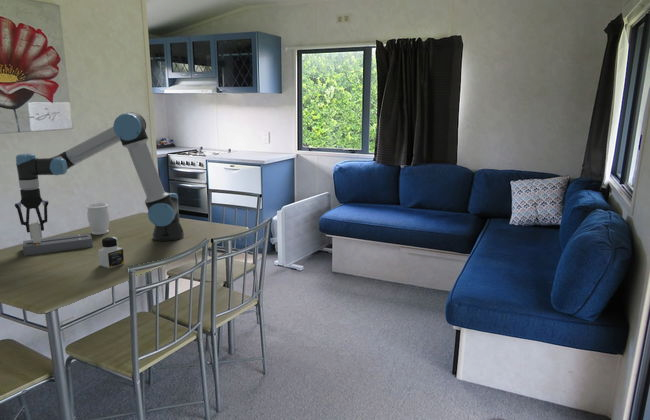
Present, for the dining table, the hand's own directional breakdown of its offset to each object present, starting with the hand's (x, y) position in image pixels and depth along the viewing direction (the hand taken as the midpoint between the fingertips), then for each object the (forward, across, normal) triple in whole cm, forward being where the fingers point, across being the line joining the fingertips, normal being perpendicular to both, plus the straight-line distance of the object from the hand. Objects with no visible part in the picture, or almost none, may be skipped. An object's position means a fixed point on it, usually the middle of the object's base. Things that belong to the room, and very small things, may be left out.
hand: (36, 238), depth 217 cm
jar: (+6, -28, -19) cm, 35 cm away
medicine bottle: (+6, -27, +37) cm, 46 cm away
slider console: (+6, -8, 0) cm, 10 cm away
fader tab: (+4, 0, 0) cm, 4 cm away
